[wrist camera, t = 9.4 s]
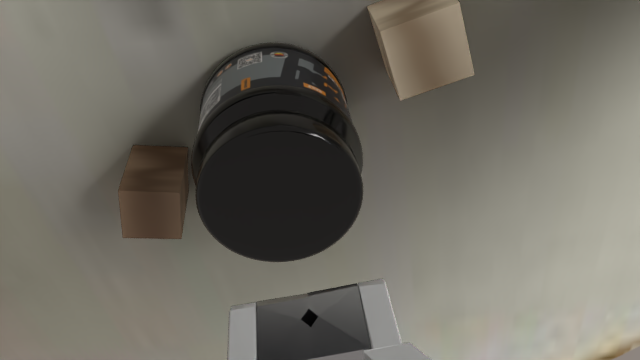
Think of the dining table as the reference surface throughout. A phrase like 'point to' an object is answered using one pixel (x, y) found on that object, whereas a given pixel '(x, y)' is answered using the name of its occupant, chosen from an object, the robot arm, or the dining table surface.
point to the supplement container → (276, 155)
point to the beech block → (421, 43)
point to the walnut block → (154, 192)
